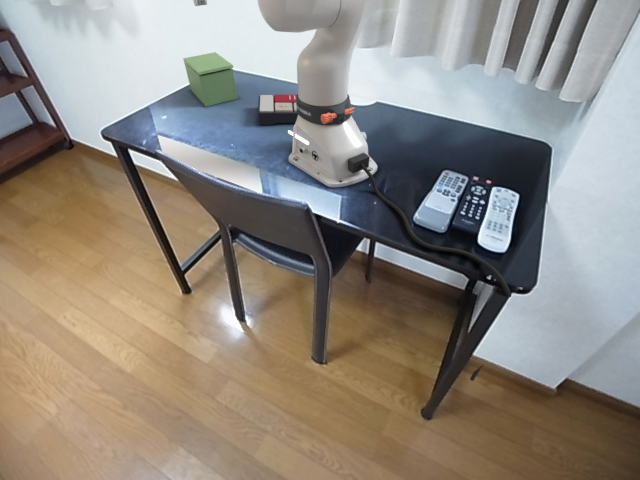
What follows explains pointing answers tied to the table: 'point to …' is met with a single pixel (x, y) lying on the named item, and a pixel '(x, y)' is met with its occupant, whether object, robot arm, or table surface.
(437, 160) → the table surface
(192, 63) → the lid
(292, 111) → the black rectangular box
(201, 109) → the table surface
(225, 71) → the chest
